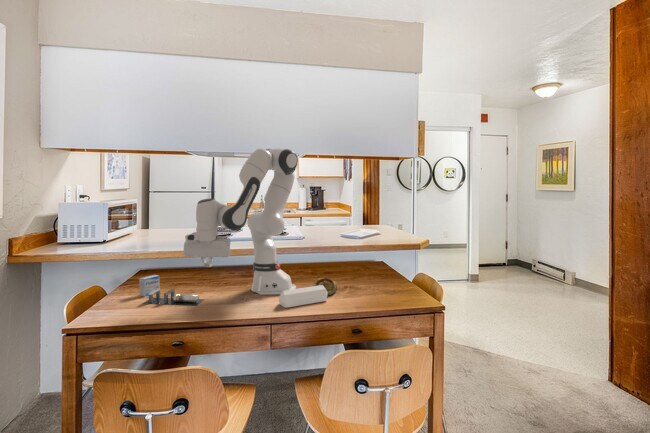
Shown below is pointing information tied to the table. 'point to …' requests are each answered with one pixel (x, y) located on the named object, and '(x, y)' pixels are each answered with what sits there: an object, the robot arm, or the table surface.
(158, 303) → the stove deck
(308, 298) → the white chamfered bar
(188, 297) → the tube
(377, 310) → the table surface
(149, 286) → the medicine box
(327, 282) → the pastry
